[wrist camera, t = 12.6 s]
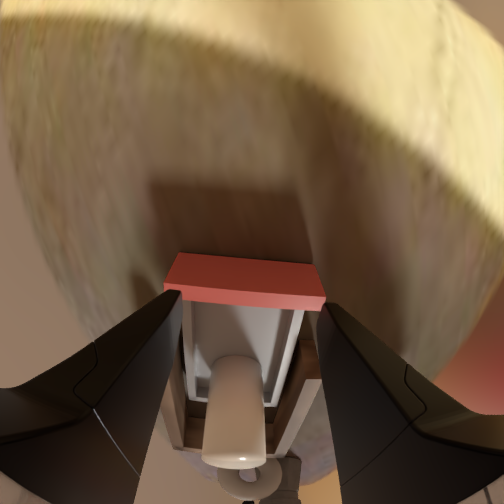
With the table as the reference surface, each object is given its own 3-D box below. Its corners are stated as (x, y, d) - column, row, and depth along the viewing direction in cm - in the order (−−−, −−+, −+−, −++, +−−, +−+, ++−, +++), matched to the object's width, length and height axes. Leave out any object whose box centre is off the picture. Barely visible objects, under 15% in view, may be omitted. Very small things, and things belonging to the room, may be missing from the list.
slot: (314, 340, 27) (322, 379, 22) (281, 428, 35) (283, 457, 30) (163, 327, 26) (150, 365, 22) (178, 420, 34) (173, 449, 30)
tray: (314, 264, 23) (326, 297, 19) (280, 391, 30) (283, 423, 26) (178, 252, 22) (163, 282, 18) (186, 383, 30) (180, 415, 26)
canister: (266, 357, 26) (272, 451, 17) (258, 387, 29) (260, 470, 20) (212, 352, 26) (201, 446, 17) (210, 383, 28) (201, 466, 19)
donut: (219, 449, 39) (215, 500, 30) (219, 441, 37) (214, 496, 28) (279, 451, 39) (281, 502, 30) (282, 444, 37) (285, 498, 28)
